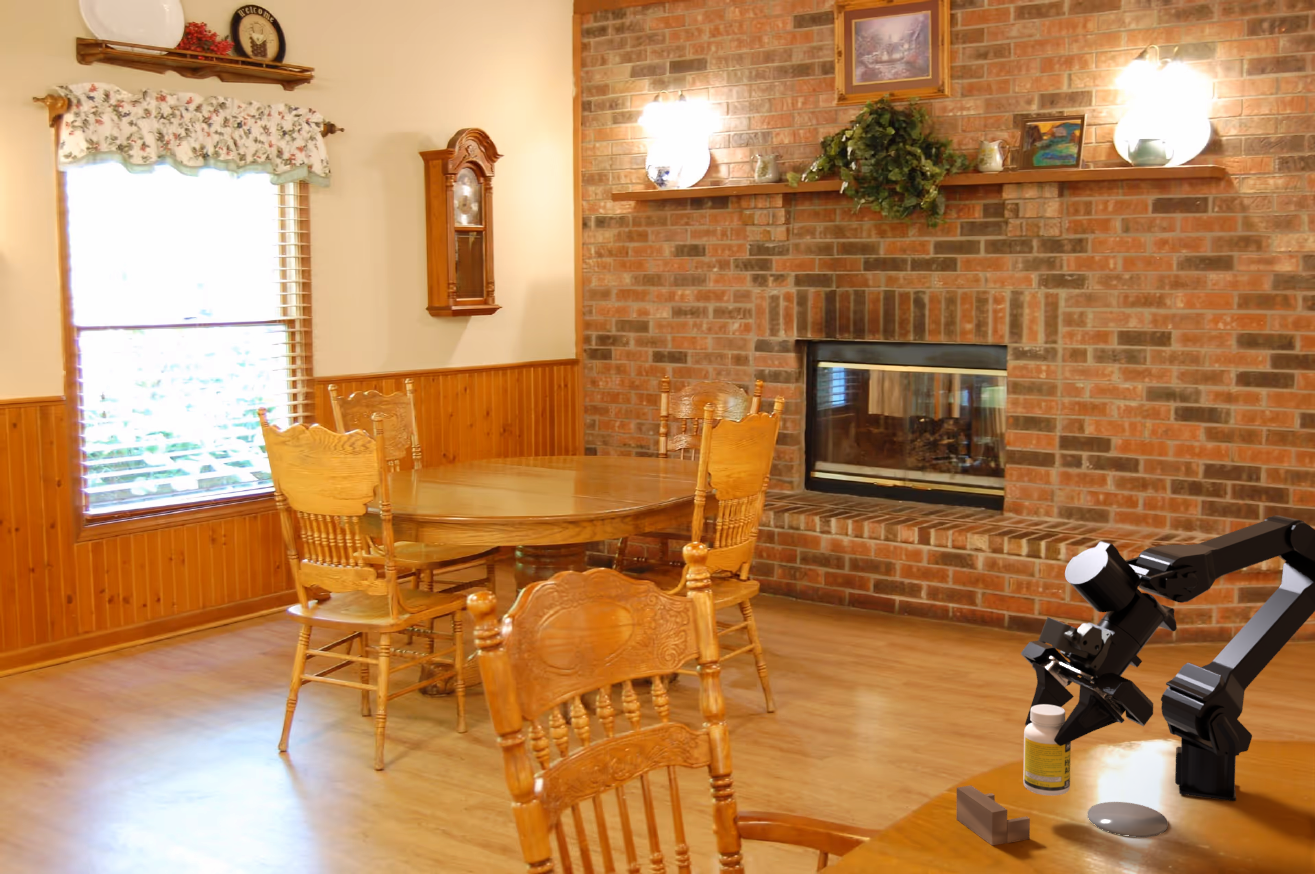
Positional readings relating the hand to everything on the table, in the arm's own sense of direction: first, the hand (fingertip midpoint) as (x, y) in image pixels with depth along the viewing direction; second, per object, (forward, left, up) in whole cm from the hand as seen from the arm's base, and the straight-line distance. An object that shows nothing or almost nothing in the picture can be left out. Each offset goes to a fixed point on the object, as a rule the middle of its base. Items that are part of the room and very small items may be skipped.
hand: (1042, 735), depth 148 cm
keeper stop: (+5, +4, -11) cm, 13 cm away
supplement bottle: (-1, -1, -7) cm, 7 cm away
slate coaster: (-10, -3, -11) cm, 15 cm away
